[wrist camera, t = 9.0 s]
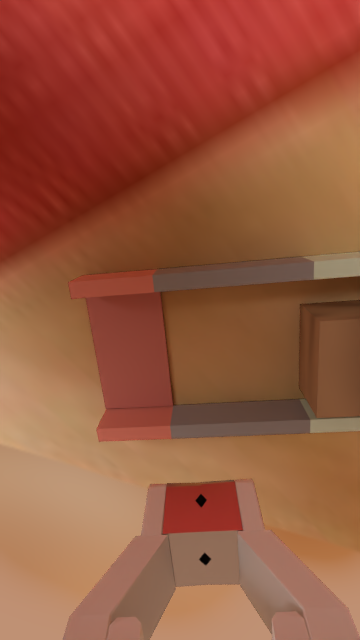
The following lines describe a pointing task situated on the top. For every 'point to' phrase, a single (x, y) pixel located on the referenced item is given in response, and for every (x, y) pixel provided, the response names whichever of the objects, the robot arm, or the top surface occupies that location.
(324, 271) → the trap box
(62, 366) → the top surface
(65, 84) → the top surface
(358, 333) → the walnut block
